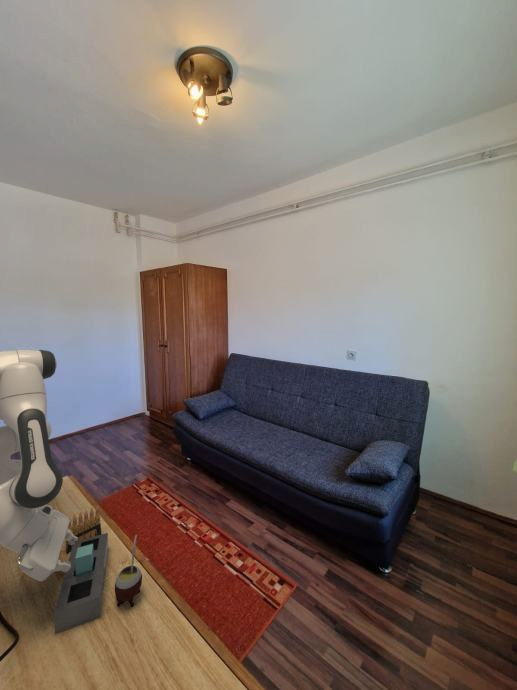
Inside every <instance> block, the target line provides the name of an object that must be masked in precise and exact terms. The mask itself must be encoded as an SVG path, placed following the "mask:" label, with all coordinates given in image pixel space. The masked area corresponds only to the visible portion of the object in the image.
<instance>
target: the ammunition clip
mask: <svg viewBox="0 0 517 690" xmlns="http://www.w3.org/2000/svg"><path fill="white" fill-rule="evenodd" d="M89 511H90V512H89V513H88V511H87V510H86V509H85V511H84V516H83V514H82V513H81V512H79V513H78V514H79V515H78V521H77V517H76V515H75V514H74V515H73V517H72V521H71V518H69V520H70V522H69V526H68V529H69V530H71V532H72V533H73V535H74V536H76V537H78V540H82V539H85V538H89V537H93V536H97V535H101V534H102V526H101V525H102V524H101V515H100V507H99V505H96V507H95V511H94V509H93V507H91V508H90V510H89ZM83 517H84V518H83ZM78 540H77V541H78ZM71 549H72V546H71V545H69V544H68V541H67V540H66V539H65V552H66V554H70V553H71Z"/></svg>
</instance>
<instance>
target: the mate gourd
mask: <svg viewBox="0 0 517 690" xmlns="http://www.w3.org/2000/svg"><path fill="white" fill-rule="evenodd" d="M137 537H138V534H135V536H134V540H133V546H132V549H131V565H127V566H126V567H124V568H123V569H122V570H120V571H119V573H118V575H117V576H116V578H115V583H114V584H115V585H114V593H115V594H114V595H115V600H116V602H117V604H116V605H117V606H116V607H117V608H119V607H121V606H122V605H124V604H126V603H127V602H128V604H129V606H130V608H131V609H132V608H134V607H135V603H134V600H135V597H136V596H138V595H139V594H141V588H142V587H141V586H142V583H143V574H142V571H141V569H140V567H139V566H136V565H134V563H135V562H134V561H135V552H136V543H137Z"/></svg>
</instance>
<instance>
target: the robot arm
mask: <svg viewBox="0 0 517 690" xmlns="http://www.w3.org/2000/svg"><path fill="white" fill-rule="evenodd" d="M57 366H58V364H57V359H56V356H55V354H54V353H53V352H52V351H50V350H47V349H46V350H43V349H39V350H36V349H15V350H11V349H10V350H1V351H0V420H2V421H3V423H4V424H5V425H3V426H0V545H1V546H2V547H3V548H5V549H8V550H9V551H12V552H14V553H17V554H18V556H17V559H16V562H17V564H18V568H19V569H20V570H21V571H22V572H23V573H24V574H25V575H27V576H29V577H30V578H32V579H34V580H35V581H36V582H37V581H38V582H44V581H46V580H47V579H48V578H49V577H51V575H52V574H53V573H54V572H59V571H61V572H63V573H65V572H67V571H68V570H69V569H70V568H71V564H72V563H71V562H69V561H68V560H65V562H62V560H60V559H59V558H60V554H61V552H62V547H63V544H64V541H66V540H67V541H68V544H69V545H71V546H74V545H75V544H76V543H77V540H78V537H76V536H74V535H73V533H72V532H71V530H69V529H68V526H69V522H70V521H71V519H70V517H68V516H67V515H65V513H63V512H61V511H60V510H57V509H53V507H52V506H51V505H49V503H50V502H52V501H53V500H55V499H56V497H57V496H58V494H59V493H60V491H61V489H62V487H63V481H64V480H63V474H62V472H61V471H60V470H59V468H58V466H56V464H55V462H54V459H53V458H52V452H51V447H50V437H51V435H52V426H51V423H49V422H48V420H47V412H48V410H47V408H48V406H47V405H48V404H47V403H48V400H47V392H46V386H45V381H44V380H47V379H49V378H51V377H52V376H53V375H55V373H56V370H57ZM17 453H19V454H20V459H11V456H12V455H14V454H17ZM69 519H70V520H69Z"/></svg>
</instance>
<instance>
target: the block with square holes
mask: <svg viewBox="0 0 517 690" xmlns="http://www.w3.org/2000/svg"><path fill="white" fill-rule="evenodd" d="M90 544H93V553H94V571H91V572H88V573H85V574H81V575H78V576H76V568H75V557H76V553H77V549H78V548H79V547H83V546H87V545H90ZM108 553H109V533H108V532H106V533H101V535H97V536H93V537H89V538H85V539H82V540H78V541H77V543H76V544H75V545H74V546H72V549H71V552H69V558H68V560H67V561H69V562H71V563H72V564H71V568H70V569H69V570H68V571H67V572H64V575H63V579H62V582H61V587H60V590H59V593H58V597H57V600H56V604H55V608H54V611H53V618H54V619H53V620H54V621H53V622H54V634H55V635H56V634H59V633H62V632H64V631H67V630H69V629H73V628H76V627H78V626H80V625H83V624H87V623H88V622H92V621H95V620H97V619H99V618H101V615H102V605H103V597H104V587H105V581H106V572H107V562H108Z"/></svg>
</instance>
